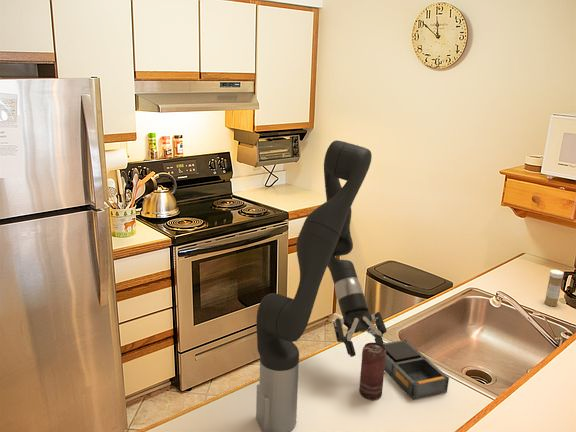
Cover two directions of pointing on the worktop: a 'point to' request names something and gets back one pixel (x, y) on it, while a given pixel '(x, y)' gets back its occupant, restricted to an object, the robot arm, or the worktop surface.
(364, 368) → the can
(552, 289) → the sprinkles bottle
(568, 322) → the worktop surface
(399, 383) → the dark grey open box
